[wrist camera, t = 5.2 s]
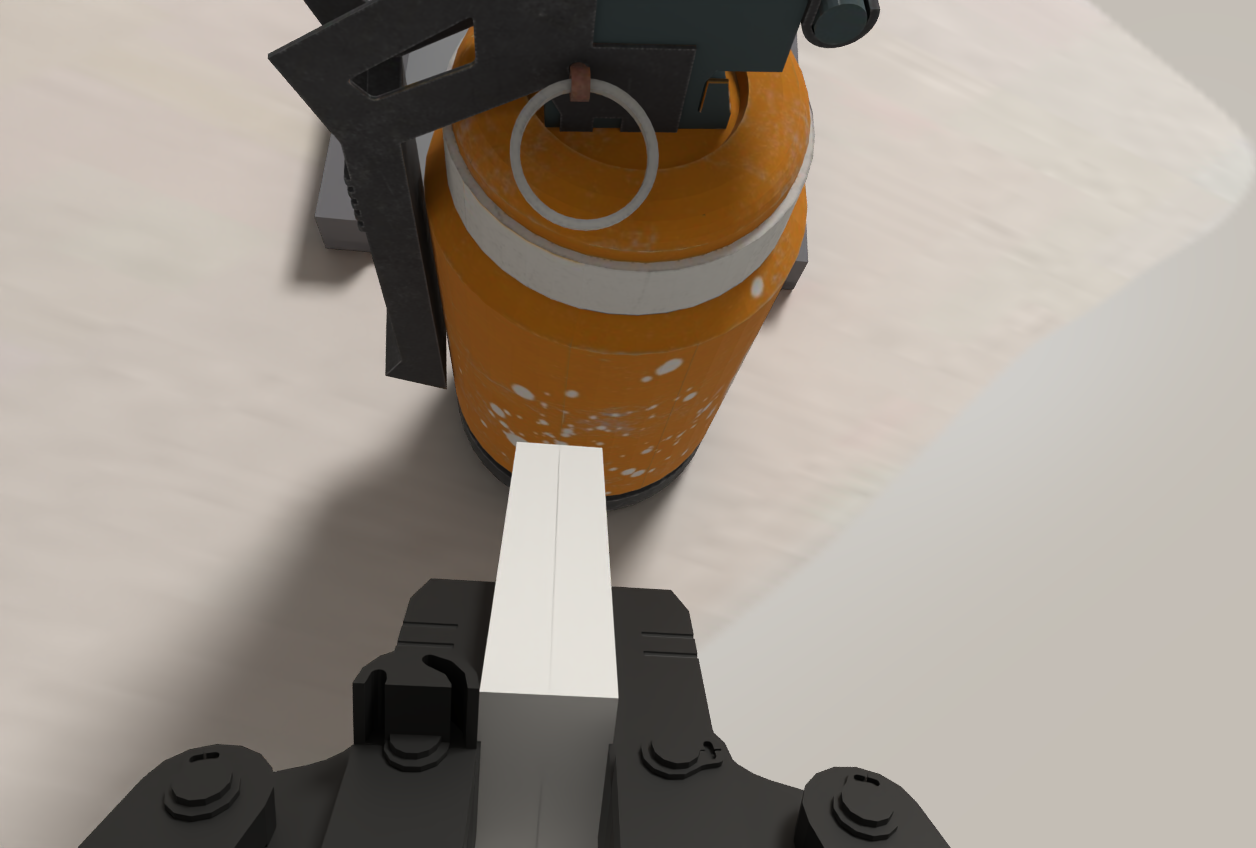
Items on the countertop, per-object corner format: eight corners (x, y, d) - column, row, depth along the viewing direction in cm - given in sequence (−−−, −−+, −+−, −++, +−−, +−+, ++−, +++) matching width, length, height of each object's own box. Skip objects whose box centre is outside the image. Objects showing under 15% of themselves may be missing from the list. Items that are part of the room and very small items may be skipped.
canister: (719, 511, 31) (1000, 122, 13) (397, 527, 30) (199, 113, 12) (692, 289, 35) (884, -272, 16) (400, 294, 33) (250, -318, 15)
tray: (325, 248, 34) (314, 216, 32) (390, -90, 40) (384, -132, 39) (793, 289, 35) (808, 262, 33) (779, -43, 42) (791, -80, 40)
